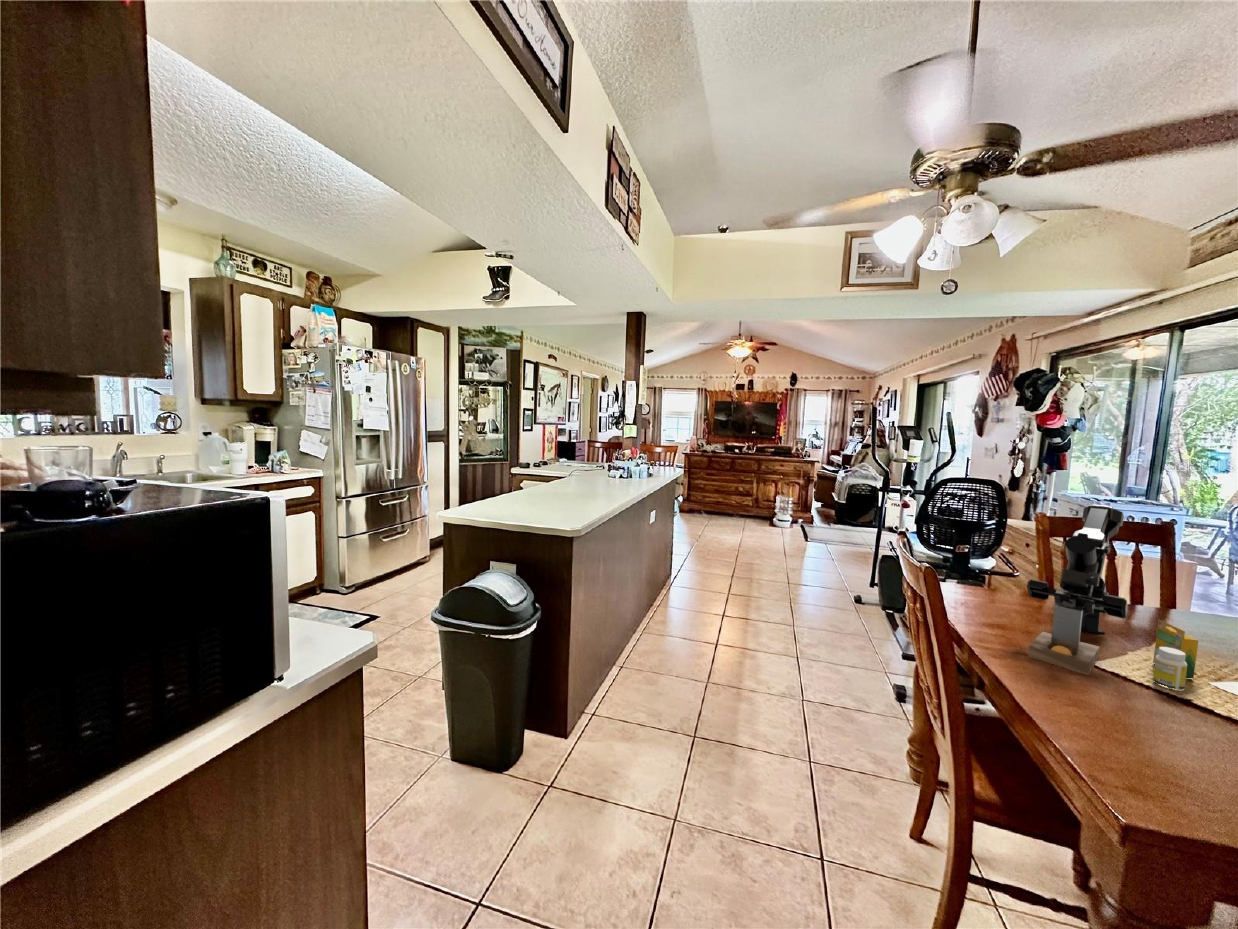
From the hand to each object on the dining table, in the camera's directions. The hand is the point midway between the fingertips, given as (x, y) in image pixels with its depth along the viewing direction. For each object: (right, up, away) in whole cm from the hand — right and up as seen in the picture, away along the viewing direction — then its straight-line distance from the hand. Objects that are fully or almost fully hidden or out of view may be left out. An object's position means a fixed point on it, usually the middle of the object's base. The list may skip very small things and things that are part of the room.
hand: (1067, 625), depth 121 cm
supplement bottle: (+11, -10, -13) cm, 19 cm away
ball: (-4, -6, -3) cm, 8 cm away
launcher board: (-1, -8, 0) cm, 8 cm away
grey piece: (-1, -5, 0) cm, 5 cm away
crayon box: (+19, -9, -7) cm, 22 cm away
